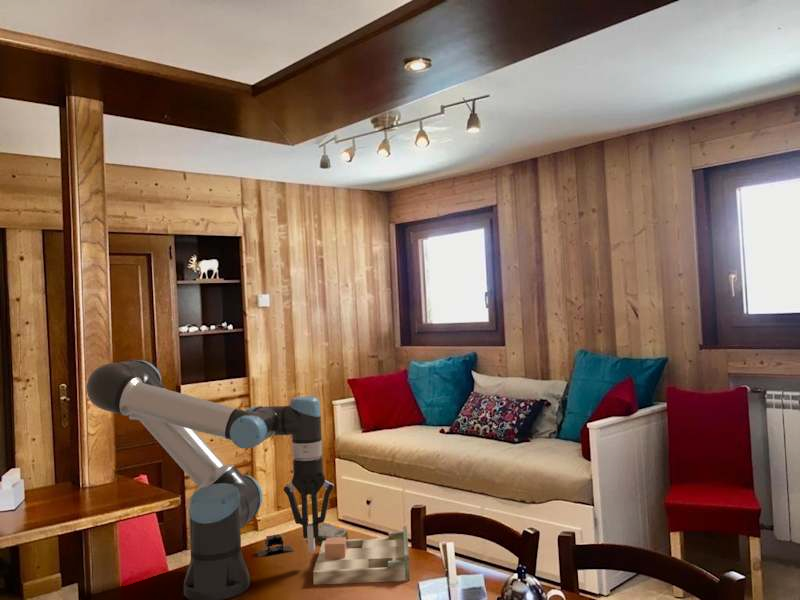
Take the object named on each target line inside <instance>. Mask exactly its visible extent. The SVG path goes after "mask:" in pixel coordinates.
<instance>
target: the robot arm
mask: <svg viewBox="0 0 800 600" xmlns="http://www.w3.org/2000/svg"><path fill="white" fill-rule="evenodd" d="M86 394H87V397H88V399H89V401H90V402H91V403H92V404H93V405H94V406H95V407H97V408H99V409H100V410H104V411H107V412H111V413H114V414H118V415H121V416H125V417H126V416H127V418H129V420H137V421H139V422H140V423H141V424H142V425H143V426H144V428H146V430H147V431H148V432H149V433H150V434H151V436H153V437H154V439H155V440H156V441H157V442H158V443H159V444H160V446H162V448H163V449H164V450H165V451H166V453H167V454H168V455H169V456H170V457H171V458H172V459H173V460H174V462H175V463H176V464H177V465H178V466H179V467H180V469H182V470H183V472H184V473H185V474H186V475H187V476H188V477H189V478H190V480H191V481H192V482H193V483H194V485H196V487H197V488H198V489H197V490H196V491H194V492H193V493H192V494H191V496H190V498H189V506H188V517H189V518H188V519H189V520H188V521H189V542H190V543H189V545H190V560H189V564H188V568H187V571H186V574H185V578H184V581H183V595H184V597H185V598H186V599H188V600H227V599H231V598H234V597H236V596H239V595H240V594H243V593H244V592H245V591H247V590H248V588H249V587H250V585H251V584H250V582H251V581H250V573H249V571H248V567H247V564H246V561H245V560H244V556H243V554H242V540H241V539H242V538H241V537H242V535H241V529H242V528H244V527H245V525H246V524H248V523H249V522H250V521H252V520H253V519H254V518H255V517H256V516H257V514H258V512H259V511H260V509H261V506H262V504H263V491H262V488H261V486H260V485H261V484H259V482H258V481H257V480H256V479H255V478H254V477H252V476H250V475H247V474H243V473H241V472H240V470H239V469H237V467H236V466H235V465H234V464H225V463H224V462H223V461H222V460H221V458H220V457H219V456H218V454H216V453H215V452H214V450H213V449H212V448H211V447H210V446H209V445H208V444H207V443H206V441H205V440H204V439H203V438H202V437H201V436H200V434H198V432H199V433H202V434H203V433H204V434H207V435H211V436H214V437H218V438H222V439H225V440H228V441H231V442H232V443H233V444H234V445H235V446H236V447H237V448H240V449H243V450H246V449H251V448H255V447H257V446H259V445H261V444H262V443H263V442H264V441H266V440H267V439H269V438H271V437H273V436H274V437H275V436H291V440H292V441H291V442H292V443H291V444H292V457H293V458H294V459H293V460H292V465H293V469H292V470H293V476H292V479H291V482H289V484H285V486H284V487H283V491H284V493H285V494H286V496H287V497H288V502H289V505H290V508H291V512H292V515H293V518H294V522H295V524H296V525H301V526H302V537H303V539H307V553H314V552H315V550H316V542H315V538H317V537H318V534H319V524H322V523H325V520H326V515H327V510H328V506H329V499H330V496H331V492H332V491H333V489H334V486H335V484H334V482H329V481H328V480H326V477H325V474H324V464H323V462H324V461H323V458H322V455H323V439H322V413H321V407H320V406H321V404H320V400H319V398H318V397H316V396H299V397H293V398H292V399H290V404H289V405H278V406H277V405H275V406H274V405H273V406H271V405H270V406H267V405H266V406H262V405H259V406H253V407H251V406H250V407H248V408H247V409H246V410H244V409H238V408H236V407H232V406H228V405H224V404H221V403H218V402H214V401H210V400H207V399H204V398H200V397H195V396H191V395H188V394H185V393H180V392H178V391H173V390H170V389H167V388H166V387H165V386H164V385H163V384H162V375H161V373H160V372H159V370H158V369H157V367H155V365H153V364H152V363H151V362H148V361H146V360H138V359H129V360H126V361H120V362H111V363H106V364H102V365H101V366H99V367H97V368H96V369H95V370H93V371H92V373H91V374H90V375H89V377H88V379H87V381H86ZM323 485H324V487H323ZM322 487H323V490H324V491H325V492H324V494H323V499H322V500H323V501H322V506H321V511H320V516H319V507H318V506H319V505H318V503H319V502H318V493H319V492H320V490H321V489H322ZM295 489H296V490H297V491H298V493H299V494H300V499H301V513H300V509H299V506H298V502H297V499H296V494H295V492H294V490H295ZM308 495H311V496H310V499H311V516H312V518H311V519H312V520H311V521H312V522H309V502H308Z"/></svg>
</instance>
